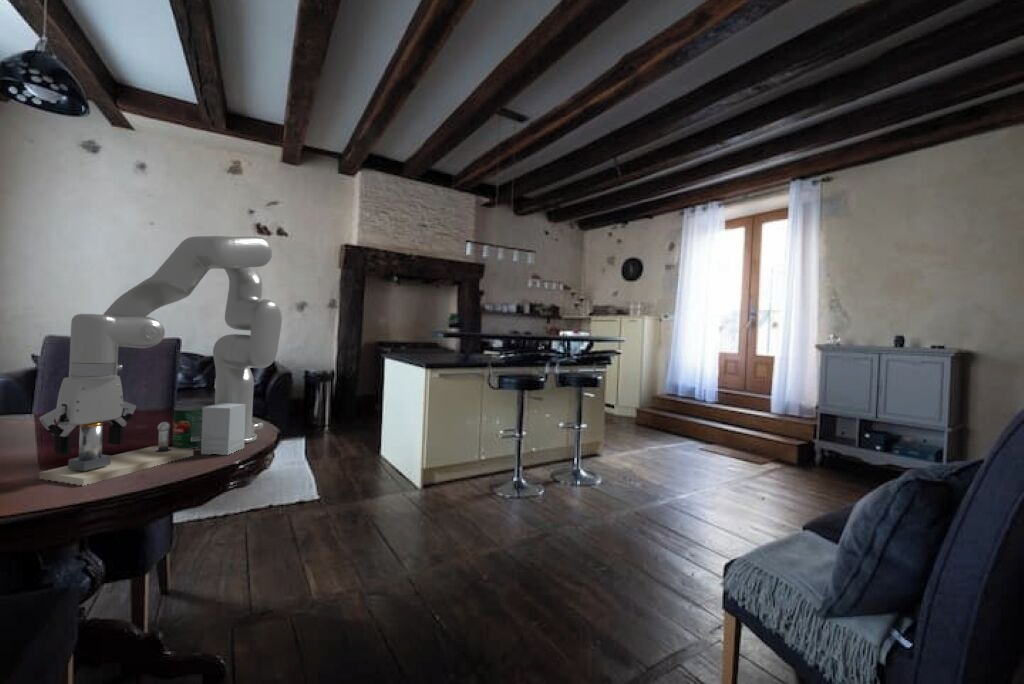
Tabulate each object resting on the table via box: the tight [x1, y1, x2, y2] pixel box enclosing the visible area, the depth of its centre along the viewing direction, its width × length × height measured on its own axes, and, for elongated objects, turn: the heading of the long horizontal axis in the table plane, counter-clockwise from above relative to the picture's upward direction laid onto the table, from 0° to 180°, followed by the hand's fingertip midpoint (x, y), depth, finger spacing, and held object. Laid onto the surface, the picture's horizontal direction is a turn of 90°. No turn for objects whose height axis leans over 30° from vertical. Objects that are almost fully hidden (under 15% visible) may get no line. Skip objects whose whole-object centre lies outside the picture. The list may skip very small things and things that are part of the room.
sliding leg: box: [67, 422, 112, 471], centre depth 94 cm, size 5×4×10 cm
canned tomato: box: [171, 404, 209, 450], centre depth 120 cm, size 8×8×11 cm
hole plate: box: [39, 445, 194, 487], centre depth 100 cm, size 24×12×2 cm, turn 168°
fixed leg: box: [157, 421, 172, 451], centre depth 109 cm, size 3×3×7 cm
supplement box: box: [200, 403, 246, 456], centre depth 116 cm, size 7×7×13 cm
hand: (90, 448), depth 94 cm, fingers open, 9 cm apart
